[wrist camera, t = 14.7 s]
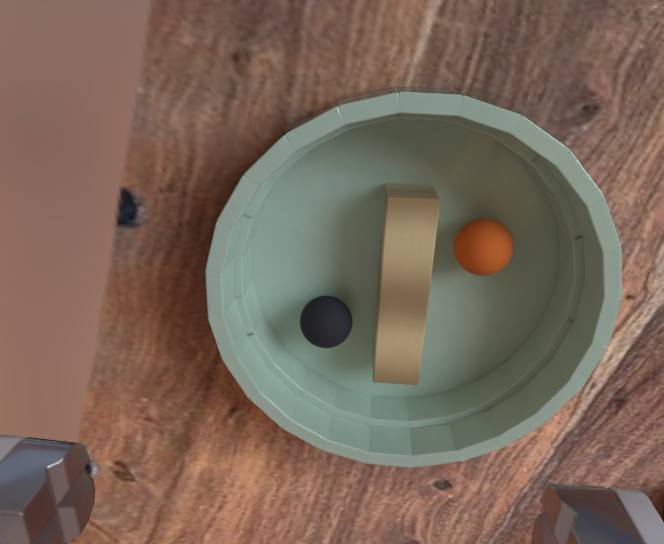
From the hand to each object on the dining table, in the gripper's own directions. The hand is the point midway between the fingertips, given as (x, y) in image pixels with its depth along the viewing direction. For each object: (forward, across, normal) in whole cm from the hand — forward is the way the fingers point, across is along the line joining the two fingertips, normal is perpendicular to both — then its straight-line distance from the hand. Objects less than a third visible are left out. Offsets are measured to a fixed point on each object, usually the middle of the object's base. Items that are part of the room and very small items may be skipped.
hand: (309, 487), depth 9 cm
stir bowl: (+19, -3, +4) cm, 20 cm away
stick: (+18, -3, +4) cm, 19 cm away
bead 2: (+17, -6, +3) cm, 19 cm away
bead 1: (+17, 0, +6) cm, 19 cm away
